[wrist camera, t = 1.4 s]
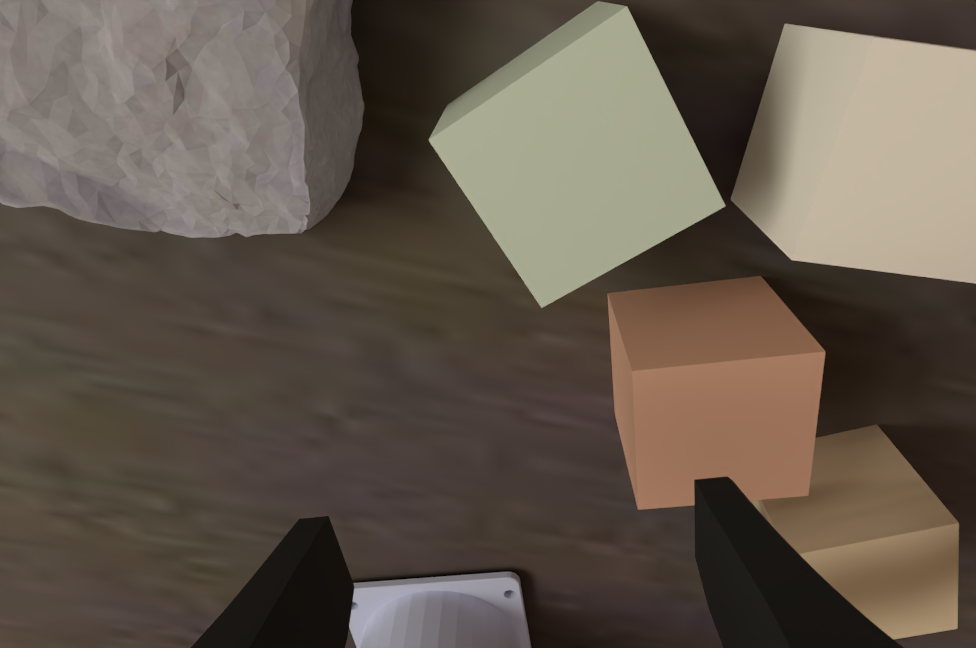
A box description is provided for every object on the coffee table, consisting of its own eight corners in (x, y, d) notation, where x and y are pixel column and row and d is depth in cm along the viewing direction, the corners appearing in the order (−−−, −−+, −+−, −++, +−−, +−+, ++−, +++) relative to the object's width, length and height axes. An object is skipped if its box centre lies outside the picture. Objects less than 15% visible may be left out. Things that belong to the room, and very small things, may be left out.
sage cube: (676, 156, 19) (725, 206, 15) (535, 239, 21) (541, 307, 16) (597, 0, 18) (626, 6, 13) (447, 104, 19) (428, 140, 15)
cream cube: (885, 219, 20) (990, 285, 16) (729, 198, 20) (791, 259, 16) (959, 47, 18) (1107, 69, 13) (783, 23, 18) (874, 37, 13)
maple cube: (881, 519, 26) (957, 628, 22) (755, 544, 27) (803, 654, 22) (875, 423, 24) (959, 523, 19) (738, 453, 25) (788, 555, 20)
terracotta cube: (752, 399, 23) (808, 495, 19) (614, 412, 24) (637, 509, 20) (759, 274, 21) (825, 351, 17) (607, 291, 22) (632, 370, 17)
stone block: (379, 194, 22) (364, -167, 16) (344, 274, 19) (305, -156, 12) (43, 159, 22) (-104, -211, 16) (-58, 231, 19) (-302, -214, 12)
